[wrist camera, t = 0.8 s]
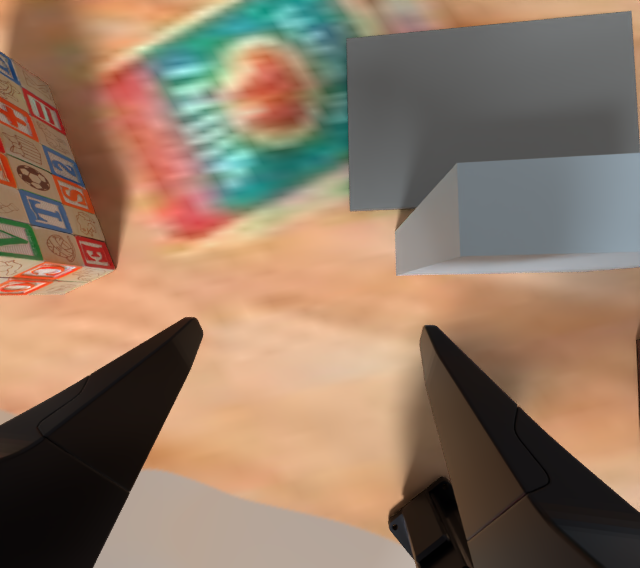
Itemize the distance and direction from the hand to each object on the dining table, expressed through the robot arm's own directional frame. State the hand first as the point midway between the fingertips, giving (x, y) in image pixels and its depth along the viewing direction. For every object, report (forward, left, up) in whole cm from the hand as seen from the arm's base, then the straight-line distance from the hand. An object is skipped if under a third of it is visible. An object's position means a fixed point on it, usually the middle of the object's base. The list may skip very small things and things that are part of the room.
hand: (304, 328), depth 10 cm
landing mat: (+4, -22, -13) cm, 26 cm away
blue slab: (-6, -14, -13) cm, 20 cm away
